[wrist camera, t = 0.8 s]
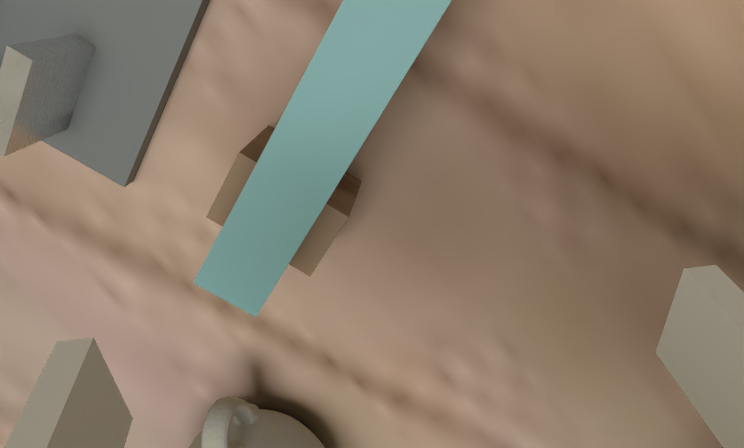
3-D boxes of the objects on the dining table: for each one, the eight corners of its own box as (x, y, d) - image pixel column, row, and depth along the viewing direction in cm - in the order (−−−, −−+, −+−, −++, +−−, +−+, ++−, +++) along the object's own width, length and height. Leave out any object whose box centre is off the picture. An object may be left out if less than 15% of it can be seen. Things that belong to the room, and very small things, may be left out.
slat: (606, -262, 18) (661, -339, 14) (284, 261, 28) (255, 317, 24) (533, -320, 18) (565, -418, 13) (232, 232, 28) (192, 282, 23)
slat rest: (601, -195, 23) (641, -235, 19) (327, 234, 33) (310, 276, 28) (483, -284, 22) (495, -349, 18) (238, 182, 32) (206, 217, 28)
